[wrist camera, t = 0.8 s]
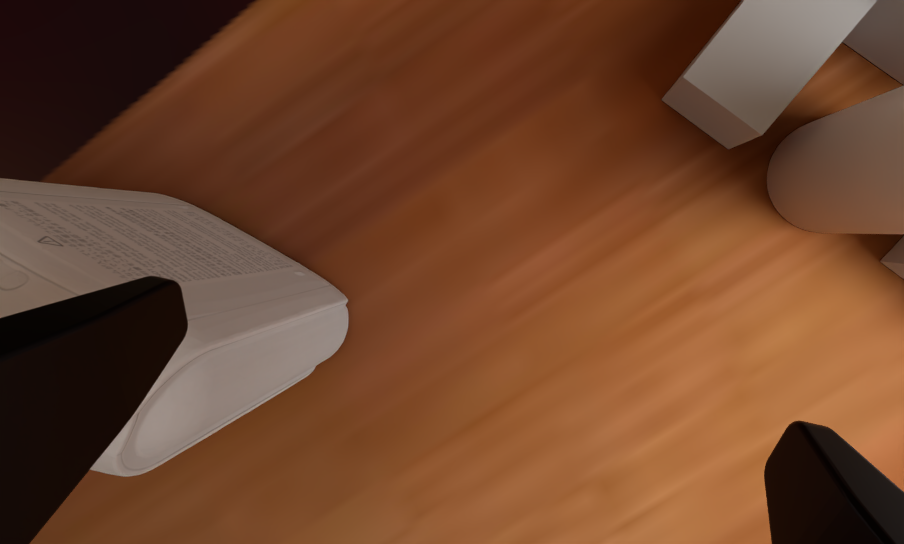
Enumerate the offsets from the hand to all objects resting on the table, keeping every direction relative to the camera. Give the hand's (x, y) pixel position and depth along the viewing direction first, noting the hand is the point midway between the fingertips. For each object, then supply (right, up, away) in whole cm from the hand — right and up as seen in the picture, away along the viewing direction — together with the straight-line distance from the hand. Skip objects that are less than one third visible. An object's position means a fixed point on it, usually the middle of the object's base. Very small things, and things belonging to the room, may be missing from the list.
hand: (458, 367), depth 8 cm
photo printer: (-9, +1, +15) cm, 18 cm away
